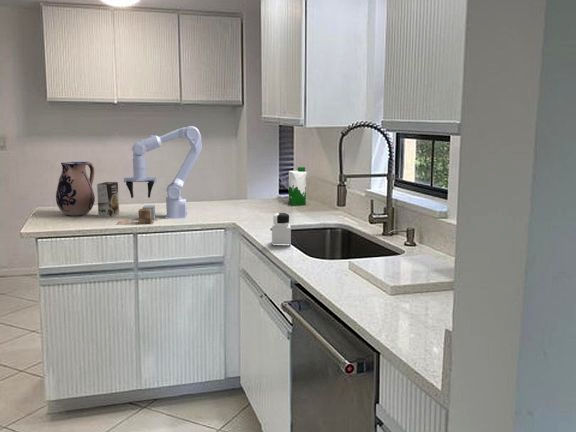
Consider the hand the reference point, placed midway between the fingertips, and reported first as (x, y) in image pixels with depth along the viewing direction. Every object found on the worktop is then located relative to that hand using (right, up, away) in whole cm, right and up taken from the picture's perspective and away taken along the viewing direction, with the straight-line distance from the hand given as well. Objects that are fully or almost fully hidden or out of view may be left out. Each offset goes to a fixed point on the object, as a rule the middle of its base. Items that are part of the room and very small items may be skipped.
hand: (140, 197), depth 274 cm
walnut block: (+5, -12, -10) cm, 16 cm away
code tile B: (+4, -10, -1) cm, 11 cm away
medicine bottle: (+66, -20, -46) cm, 83 cm away
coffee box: (-17, -9, +6) cm, 20 cm away
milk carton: (+73, -3, +43) cm, 85 cm away
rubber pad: (+5, -12, -10) cm, 16 cm away
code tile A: (-4, -12, -9) cm, 16 cm away
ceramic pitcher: (-33, -8, +13) cm, 36 cm away
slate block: (+4, -10, -1) cm, 11 cm away
